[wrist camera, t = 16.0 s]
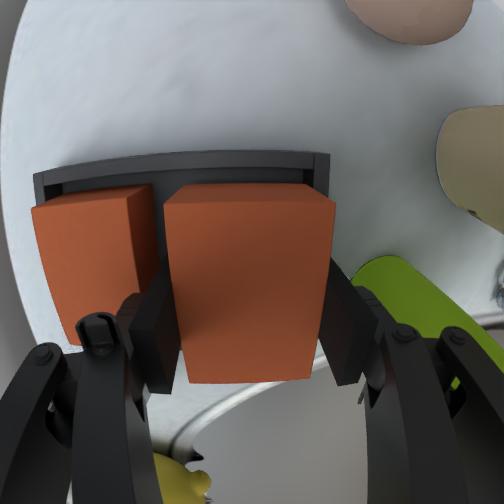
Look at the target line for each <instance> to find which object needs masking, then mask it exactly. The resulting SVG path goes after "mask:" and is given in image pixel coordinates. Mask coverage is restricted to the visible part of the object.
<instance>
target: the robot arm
mask: <svg viewBox="0 0 504 504" xmlns="http://www.w3.org/2000/svg"><path fill="white" fill-rule="evenodd" d="M75 329H76V332H77V334H78V337H79V340H80V342H81V344H82V347H83V349H84V351H83V352H79V353H71V354H63V352H62V350H61V348H60V347H59V346H58V345H57V344H55V343H52V342H48V343H43V344H39V345H38V346H36V347H35V348H33V349H32V350H31V351H30V352H29V354H28V356H27V357H26V358H25V360H24V361H23V363H22V365H21V366H20V368H19V369H18V371H17V372H16V374H15V376H14V377H13V379H12V381H11V382H10V384H9V386H8V387H7V389H6V391H5V393H4V394H3V396H2V398H1V400H0V504H66V502H67V497H68V492H69V488H70V483H71V486H72V504H164V503H163V499H162V495H161V490H160V486H159V481H158V477H157V472H156V467H155V462H154V456H153V450H152V444H151V438H150V431H149V424H148V417H147V408H146V401H145V398H144V396H143V389H144V386H145V383H146V386H147V388H148V391H149V393H156V394H170V395H171V392H172V387H173V381H174V376H175V371H176V366H177V361H178V356H179V351H180V346H181V337H180V331H179V325H178V319H177V313H176V307H175V300H174V294H173V287H172V281H171V274H170V266H169V258H168V252H167V254H166V255H165V257H164V259H163V261H162V263H161V265H160V267H159V268H158V270H157V272H156V274H155V276H154V278H153V280H152V282H151V284H150V286H149V288H148V290H147V291H146V293H132V294H131V295H130V296H128V297H127V298H126V299H124V301H123V303H122V305H121V306H120V309H119V310H118V311H117V313H116V315H115V316H114V315H113V314H111V313H108V312H95V313H91V314H89V315H86V316H84V317H83V318H81V319H80V320H79V321H78V322H77V324H76V325H75ZM318 338H319V340H320V343H321V345H322V348H323V350H324V353H325V355H326V358H327V360H328V363H329V365H330V368H331V370H332V372H333V375H334V378H335V380H336V383H337V385H338V386H342V385H348V384H354V383H358V381H359V379H360V376H361V373H362V371H363V373H364V375H365V377H366V379H367V380H366V382H365V385H364V388H363V390H362V392H361V395H360V397H359V399H358V404H361V402H362V400H363V398H364V403H365V416H366V430H367V431H366V432H367V456H368V498H367V499H368V500H367V504H504V373H503V372H502V371H501V370H500V368H499V367H498V366H497V365H496V364H495V362H494V361H493V360H492V359H491V358H490V356H489V355H488V354H487V353H486V352H485V350H484V349H483V348H482V347H481V346H480V345H479V344H478V342H477V341H476V340H475V339H474V338H473V337H472V336H471V335H470V334H469V333H468V332H467V331H466V330H464V329H462V328H461V327H457V326H447V327H445V328H444V329H443V330H442V332H441V334H440V336H439V338H424V337H422V336H421V334H420V333H419V331H418V330H416V329H415V328H414V327H412V326H410V325H407V324H403V323H397V322H396V321H395V319H394V318H393V317H392V316H391V314H390V313H389V312H388V311H387V309H386V308H385V307H384V306H382V303H381V302H380V301H379V300H378V298H377V297H376V296H375V295H374V293H373V292H372V291H370V290H369V289H367V288H365V287H364V286H353V285H352V283H351V282H350V281H349V280H348V278H347V277H346V276H345V274H344V273H343V272H342V271H341V269H340V268H339V267H338V265H337V264H336V263H335V262H334V260H333V259H332V258H331V257H330V264H329V271H328V278H327V284H326V291H325V298H324V304H323V310H322V316H321V322H320V328H319V334H318ZM456 377H457V378H458V380H459V381H460V384H459V385H458V387H457V388H456V389H454V388H453V387H452V386H451V384H452V383H453V381H454V379H455V378H456ZM50 402H51V403H52V407H51V409H50V410H48V407H49V404H50Z"/></svg>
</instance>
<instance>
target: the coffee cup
mask: <svg viewBox="0 0 504 504" xmlns="http://www.w3.org/2000/svg"><path fill="white" fill-rule="evenodd" d="M436 166H437V173H438V177H439V181H440V184H441V186H442V189H443V191H444V193H445V194H446V196H447V197H448V199H449V200H450V201H451V202H452V203H453V204H454V205H456V206H457V207H459V208H460V209H462V210H464V211H465V212H467V213H469V214H471V215H472V216H474V217H476V218H478V219H479V220H481V221H483V222H484V223H486V224H488V225H489V226H491V227H493V228H494V229H496V230H498V231H499V232H501V233H502V234H504V105H497V106H484V107H473V108H466V109H461V110H457V111H454V112H453V113H451V114H450V115H449V116H448V117H447V118H446V119H445V121H444V122H443V124H442V126H441V128H440V131H439V134H438V139H437V145H436Z"/></svg>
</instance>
